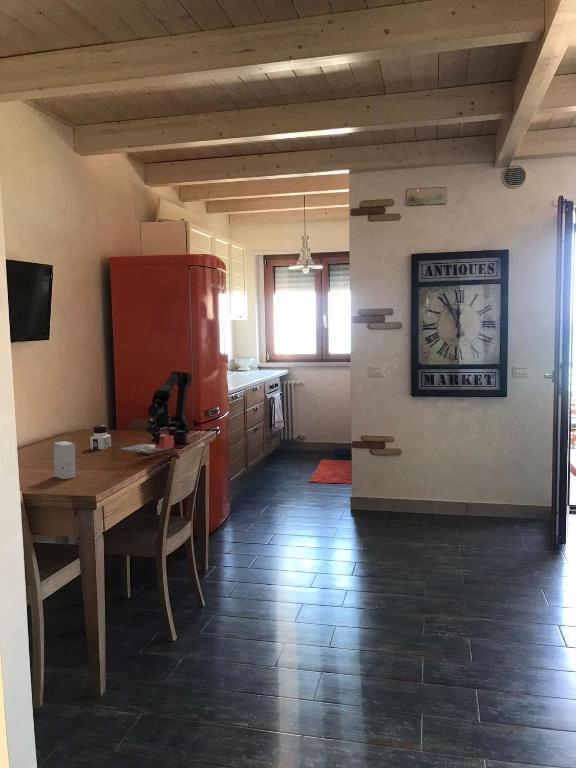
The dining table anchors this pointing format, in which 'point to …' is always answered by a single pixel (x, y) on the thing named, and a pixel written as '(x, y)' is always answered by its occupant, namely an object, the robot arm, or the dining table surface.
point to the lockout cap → (165, 441)
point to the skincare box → (64, 460)
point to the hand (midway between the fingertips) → (164, 443)
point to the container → (100, 438)
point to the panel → (147, 449)
